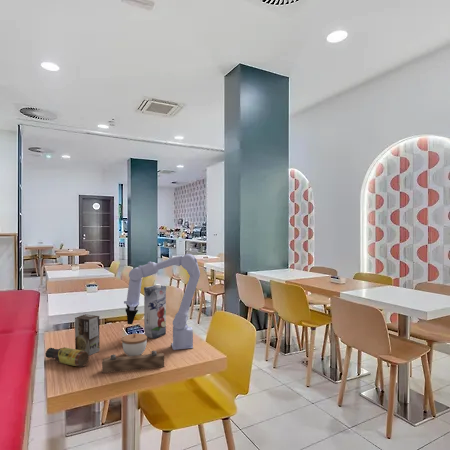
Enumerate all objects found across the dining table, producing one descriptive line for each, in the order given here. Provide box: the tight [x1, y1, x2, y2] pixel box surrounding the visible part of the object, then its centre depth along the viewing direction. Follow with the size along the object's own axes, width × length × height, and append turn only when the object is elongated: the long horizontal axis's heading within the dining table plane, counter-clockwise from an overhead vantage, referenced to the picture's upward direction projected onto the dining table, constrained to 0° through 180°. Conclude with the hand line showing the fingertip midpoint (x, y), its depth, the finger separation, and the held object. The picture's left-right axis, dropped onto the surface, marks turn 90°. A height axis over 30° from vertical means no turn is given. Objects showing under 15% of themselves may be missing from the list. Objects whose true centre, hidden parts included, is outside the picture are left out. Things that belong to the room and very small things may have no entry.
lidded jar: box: [121, 333, 148, 356], centre depth 150 cm, size 11×11×9 cm
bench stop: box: [101, 350, 165, 374], centre depth 136 cm, size 24×3×6 cm, turn 104°
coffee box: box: [74, 313, 101, 356], centre depth 154 cm, size 9×6×16 cm
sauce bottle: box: [44, 347, 90, 368], centre depth 141 cm, size 6×6×20 cm
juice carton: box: [143, 283, 167, 339], centre depth 176 cm, size 9×10×27 cm
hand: (130, 321), depth 159 cm, fingers open, 7 cm apart
